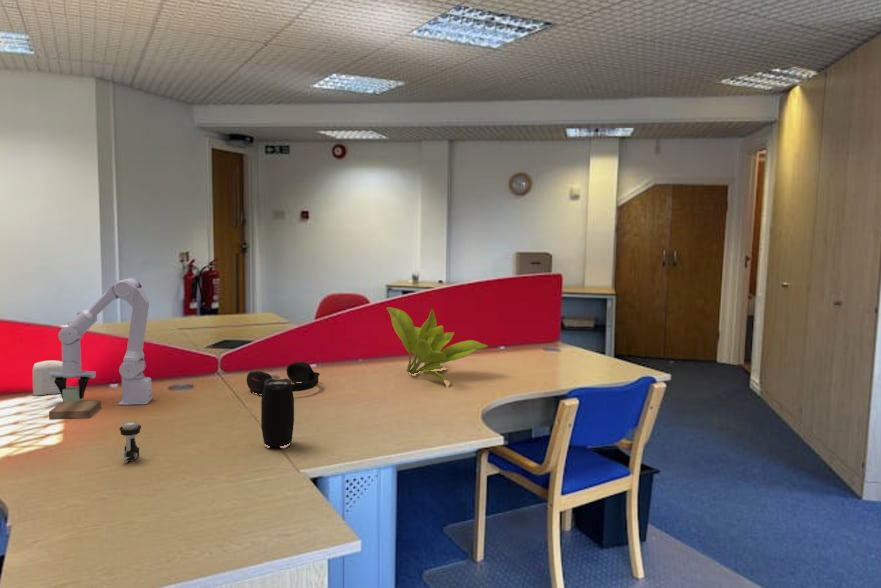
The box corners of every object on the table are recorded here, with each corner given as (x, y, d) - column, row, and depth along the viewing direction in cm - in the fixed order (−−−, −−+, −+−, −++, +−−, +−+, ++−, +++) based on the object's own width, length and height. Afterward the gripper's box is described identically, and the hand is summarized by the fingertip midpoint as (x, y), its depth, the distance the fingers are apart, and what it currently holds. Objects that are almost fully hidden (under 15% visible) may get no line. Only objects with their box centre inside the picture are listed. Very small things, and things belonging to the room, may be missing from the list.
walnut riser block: (101, 409, 224) (100, 400, 224) (89, 419, 212) (89, 410, 212) (62, 410, 222) (62, 401, 221) (49, 420, 210) (49, 411, 210)
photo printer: (65, 390, 243) (64, 358, 242) (66, 393, 240) (65, 360, 238) (33, 394, 238) (31, 360, 236) (33, 396, 234) (31, 363, 233)
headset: (268, 378, 272) (268, 358, 271) (328, 382, 268) (329, 361, 267) (237, 396, 244) (237, 373, 243) (304, 400, 240) (304, 377, 239)
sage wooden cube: (83, 399, 231) (82, 386, 231) (78, 403, 227) (78, 389, 226) (68, 400, 230) (67, 386, 230) (62, 404, 226) (62, 390, 225)
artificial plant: (419, 409, 256) (465, 351, 250) (350, 338, 272) (391, 282, 267) (461, 403, 294) (502, 352, 288) (398, 341, 310) (435, 292, 305)
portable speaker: (256, 444, 193) (256, 380, 191) (285, 438, 199) (286, 375, 197) (269, 452, 186) (269, 386, 184) (298, 446, 192) (299, 381, 190)
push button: (134, 464, 175) (133, 428, 174) (114, 464, 175) (113, 428, 173) (145, 455, 181) (144, 421, 180) (125, 455, 181) (124, 420, 180)
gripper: (97, 357, 232) (99, 394, 234) (53, 358, 229) (54, 395, 231) (91, 361, 225) (92, 399, 227) (45, 362, 222) (47, 401, 224)
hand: (73, 398), depth 228 cm, fingers closed on sage wooden cube, 5 cm apart
